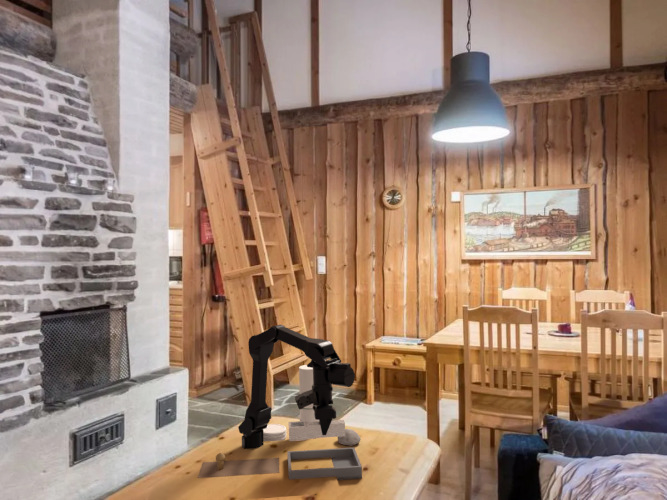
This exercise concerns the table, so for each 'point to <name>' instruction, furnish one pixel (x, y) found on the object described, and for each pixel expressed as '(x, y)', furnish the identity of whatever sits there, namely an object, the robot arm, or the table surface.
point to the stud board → (238, 467)
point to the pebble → (349, 438)
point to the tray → (343, 468)
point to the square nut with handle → (314, 430)
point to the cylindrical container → (304, 386)
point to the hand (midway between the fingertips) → (323, 433)
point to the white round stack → (274, 432)
